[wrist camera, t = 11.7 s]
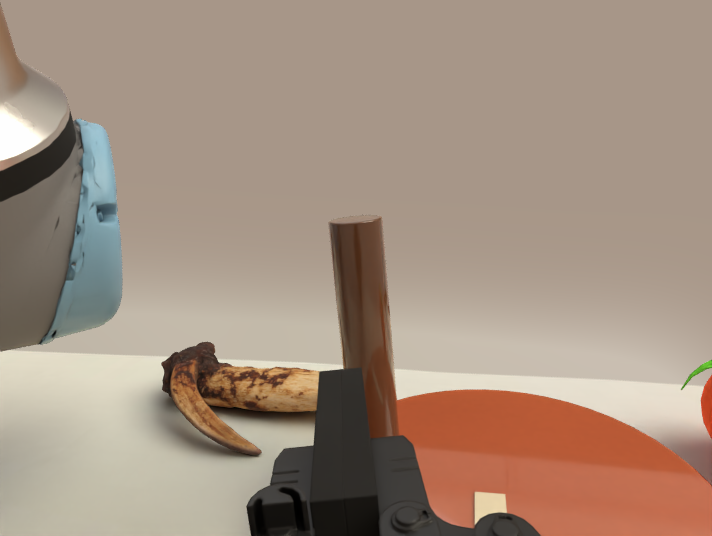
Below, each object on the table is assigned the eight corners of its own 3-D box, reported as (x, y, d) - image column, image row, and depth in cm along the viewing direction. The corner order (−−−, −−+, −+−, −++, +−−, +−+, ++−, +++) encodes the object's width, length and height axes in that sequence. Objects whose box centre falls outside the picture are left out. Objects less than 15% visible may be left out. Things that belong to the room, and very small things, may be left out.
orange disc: (344, 400, 35) (324, 207, 32) (648, 410, 30) (659, 184, 27) (197, 690, 16) (113, 295, 13) (933, 841, 12) (1079, 271, 8)
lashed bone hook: (112, 437, 37) (315, 472, 30) (96, 382, 36) (303, 405, 29) (193, 379, 46) (368, 396, 38) (182, 333, 44) (361, 341, 37)
